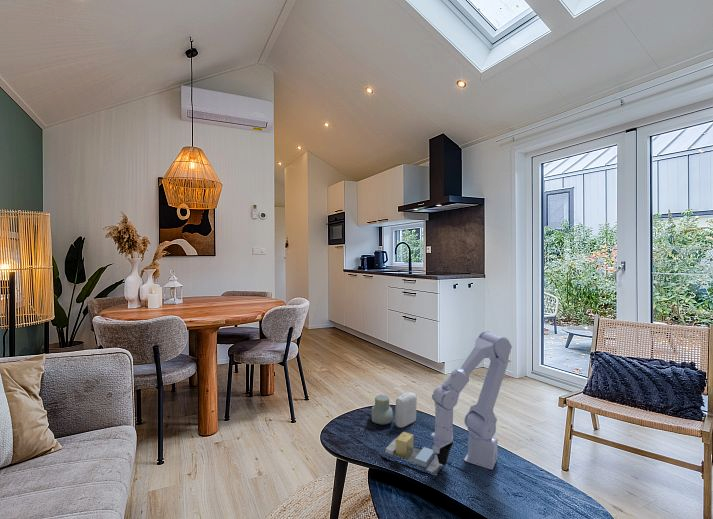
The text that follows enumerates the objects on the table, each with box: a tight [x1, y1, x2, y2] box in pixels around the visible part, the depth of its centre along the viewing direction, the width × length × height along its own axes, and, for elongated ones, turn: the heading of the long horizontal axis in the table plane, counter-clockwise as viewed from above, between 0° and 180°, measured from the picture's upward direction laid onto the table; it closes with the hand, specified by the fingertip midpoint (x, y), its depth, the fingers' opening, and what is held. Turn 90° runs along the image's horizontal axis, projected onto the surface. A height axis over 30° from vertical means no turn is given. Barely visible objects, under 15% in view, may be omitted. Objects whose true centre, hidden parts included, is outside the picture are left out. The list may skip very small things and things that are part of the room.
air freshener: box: [371, 394, 394, 425], centre depth 163 cm, size 11×8×10 cm
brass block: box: [396, 431, 415, 459], centre depth 138 cm, size 4×6×6 cm, turn 149°
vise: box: [384, 437, 444, 474], centre depth 137 cm, size 20×10×3 cm, turn 59°
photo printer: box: [394, 391, 418, 428], centre depth 162 cm, size 10×4×12 cm, turn 134°
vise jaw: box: [415, 446, 436, 468], centre depth 135 cm, size 4×8×2 cm, turn 149°
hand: (442, 463), depth 131 cm, fingers closed
